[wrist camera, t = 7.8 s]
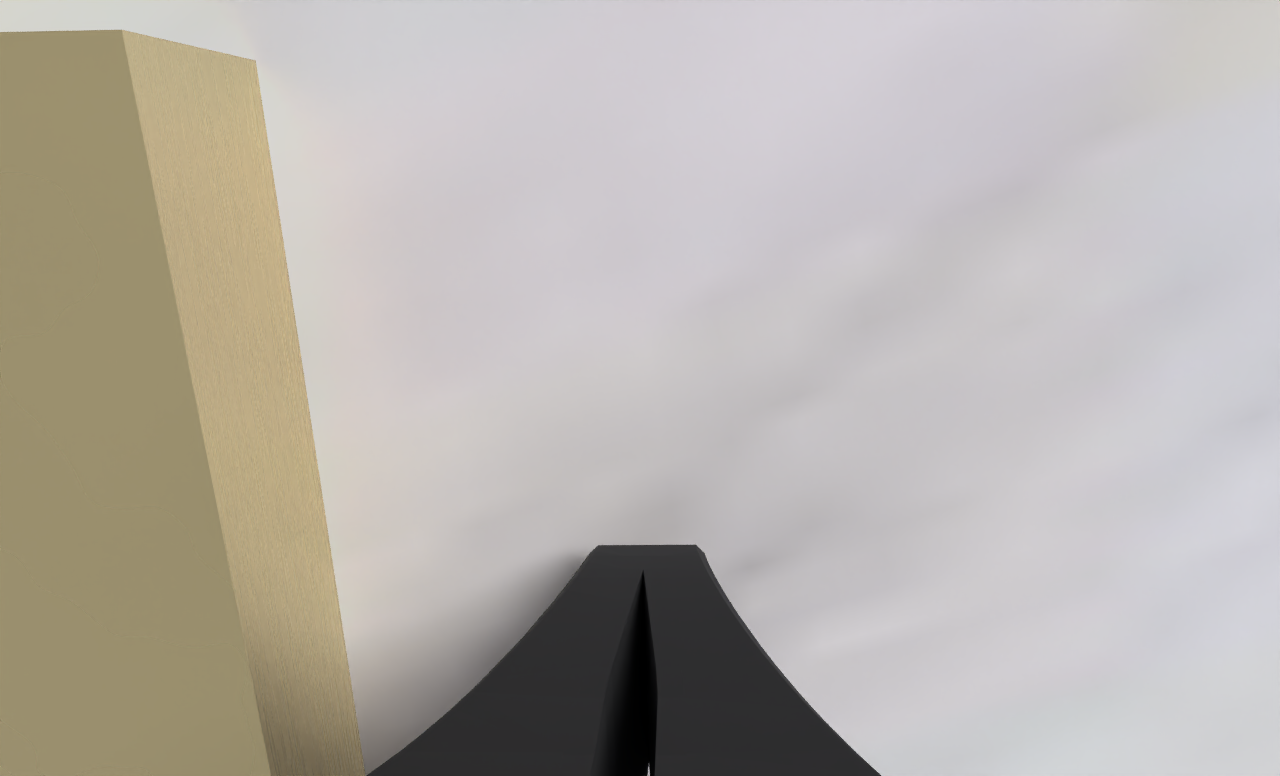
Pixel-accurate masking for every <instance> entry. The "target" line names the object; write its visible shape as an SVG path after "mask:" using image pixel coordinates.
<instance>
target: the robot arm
mask: <svg viewBox="0 0 1280 776" xmlns="http://www.w3.org/2000/svg"><path fill="white" fill-rule="evenodd" d="M648 766H649V767H650V776H881V775H880V774H879V773H878V772H877V771H876V770H875V769H873V768H872V767H871V766H870V765H869V764H868V763H867V762H866V761H865V760H864V759H863V758H862V757H860V756H859V755H858V754H857V753H856V752H855V751H854V750H853V749H852V748H851V747H850V746H849V745H848V744H847V743H846V742H845V741H844V740H843V739H842V738H841V737H840V736H839V735H838V734H837V733H836V732H835V731H834V730H833V729H832V728H831V727H830V726H829V725H828V724H827V723H826V722H825V721H824V720H823V719H822V718H821V717H820V715H819V714H818V713H817V712H816V711H815V710H814V709H813V708H812V707H811V706H810V705H809V704H808V702H807V701H806V700H805V699H804V698H803V697H802V696H801V695H800V693H799V692H798V691H797V690H796V689H795V688H794V686H793V685H792V684H791V683H790V682H789V680H788V679H787V678H786V677H785V676H784V674H783V673H782V672H781V671H780V670H779V668H778V667H777V666H776V665H775V664H774V662H773V661H772V660H771V659H770V657H769V656H768V655H767V653H766V652H765V651H764V649H763V648H762V647H761V646H760V644H759V643H758V641H757V640H756V639H755V637H754V636H753V634H752V633H751V632H750V630H749V629H748V627H747V626H746V625H745V623H744V622H743V620H742V619H741V618H740V616H739V615H738V613H737V612H736V610H735V609H734V607H733V606H732V604H731V603H730V601H729V599H728V598H727V596H726V594H725V593H724V591H723V589H722V588H721V586H720V584H719V583H718V581H717V579H716V577H715V575H714V574H713V572H712V570H711V568H710V566H709V563H708V561H707V559H706V556H705V553H704V552H703V551H702V550H701V549H700V548H699V547H698V546H697V545H598V546H597V547H596V548H595V549H594V550H593V551H592V552H591V553H590V554H589V555H588V557H587V558H586V559H585V561H584V562H583V564H582V565H581V566H580V568H579V569H578V571H577V572H576V573H575V575H574V576H573V577H572V579H571V580H570V581H569V583H568V584H567V585H566V586H565V588H564V589H563V590H562V591H561V593H560V594H559V595H558V597H557V598H556V599H555V600H554V602H553V603H552V604H551V605H550V606H549V607H548V609H547V610H546V611H545V612H544V613H543V615H542V616H541V617H540V618H539V619H538V620H537V622H536V623H535V624H534V625H533V626H532V627H531V629H530V630H529V631H528V632H527V633H526V634H525V636H524V637H523V638H522V639H521V640H520V641H519V642H518V643H517V644H516V645H515V646H514V648H513V649H512V650H511V651H510V652H509V653H508V654H507V655H506V656H505V657H504V658H503V659H502V660H501V661H500V662H499V663H498V664H497V665H496V666H495V667H494V668H493V669H492V670H491V671H490V672H489V673H488V674H487V675H486V676H485V677H484V678H483V679H482V680H481V681H480V682H479V684H477V685H476V686H475V687H474V688H473V689H472V690H471V691H470V692H469V693H468V694H467V695H466V696H465V697H464V698H463V699H462V700H461V701H459V702H458V703H457V704H456V705H455V706H454V707H453V708H452V709H451V710H450V711H448V712H447V713H446V714H445V715H444V716H443V717H442V718H441V719H439V720H438V721H437V722H436V723H435V724H433V725H432V726H431V727H430V728H429V729H427V730H426V731H425V732H424V733H423V734H421V735H420V736H419V737H418V738H417V739H415V740H414V741H413V742H412V743H410V744H409V745H408V746H407V747H405V748H404V749H403V750H401V751H400V752H399V753H397V754H396V755H395V756H393V757H392V758H390V759H389V760H388V761H386V762H385V763H383V764H382V765H381V766H379V767H378V768H376V769H375V770H374V771H372V772H371V773H369V774H368V775H367V776H647V774H648Z"/></svg>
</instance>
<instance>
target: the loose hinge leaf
mask: <svg viewBox="0 0 1280 776" xmlns="http://www.w3.org/2000/svg"><path fill="white" fill-rule="evenodd" d="M0 776H365V770H364V764H363V757H362V751H361V744H360V738H359V731H358V725H357V718H356V712H355V705H354V699H353V692H352V686H351V679H350V673H349V666H348V660H347V653H346V647H345V640H344V634H343V627H342V621H341V614H340V608H339V601H338V595H337V588H336V582H335V575H334V569H333V562H332V556H331V549H330V543H329V536H328V530H327V523H326V516H325V510H324V503H323V497H322V490H321V484H320V477H319V471H318V464H317V458H316V451H315V445H314V438H313V432H312V425H311V419H310V412H309V406H308V399H307V393H306V386H305V380H304V373H303V367H302V360H301V354H300V347H299V341H298V334H297V328H296V321H295V315H294V308H293V302H292V295H291V289H290V282H289V275H288V269H287V262H286V256H285V249H284V243H283V236H282V230H281V223H280V217H279V210H278V204H277V197H276V191H275V184H274V178H273V171H272V165H271V158H270V152H269V145H268V139H267V132H266V126H265V119H264V113H263V106H262V100H261V93H260V87H259V80H258V74H257V67H256V61H255V60H251V59H246V58H242V57H238V56H233V55H229V54H225V53H220V52H216V51H212V50H207V49H203V48H198V47H194V46H190V45H185V44H181V43H177V42H172V41H168V40H164V39H159V38H155V37H151V36H146V35H142V34H138V33H133V32H129V31H124V30H89V31H39V32H0Z"/></svg>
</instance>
